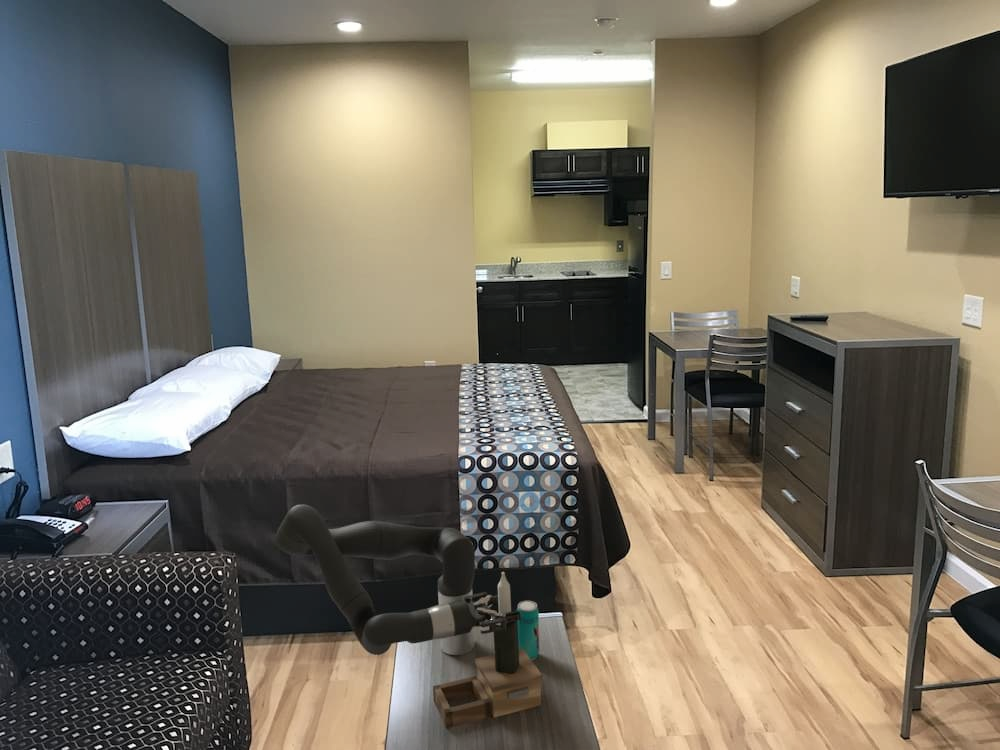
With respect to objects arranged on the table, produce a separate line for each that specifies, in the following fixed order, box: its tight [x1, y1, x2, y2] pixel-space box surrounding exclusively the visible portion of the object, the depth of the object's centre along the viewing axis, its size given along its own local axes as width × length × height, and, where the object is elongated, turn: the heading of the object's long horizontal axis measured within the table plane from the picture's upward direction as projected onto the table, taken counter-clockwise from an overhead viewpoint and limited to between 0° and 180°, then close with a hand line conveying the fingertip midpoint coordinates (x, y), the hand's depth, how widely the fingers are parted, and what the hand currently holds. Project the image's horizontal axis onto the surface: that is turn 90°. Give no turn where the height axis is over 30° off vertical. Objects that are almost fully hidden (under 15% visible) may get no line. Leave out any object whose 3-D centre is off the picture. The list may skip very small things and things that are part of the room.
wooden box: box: [432, 648, 543, 729], centre depth 187 cm, size 14×24×8 cm, turn 110°
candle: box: [493, 571, 519, 674], centre depth 186 cm, size 5×5×25 cm
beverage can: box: [516, 600, 540, 662], centre depth 205 cm, size 6×6×15 cm
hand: (513, 606), depth 186 cm, fingers open, 8 cm apart
